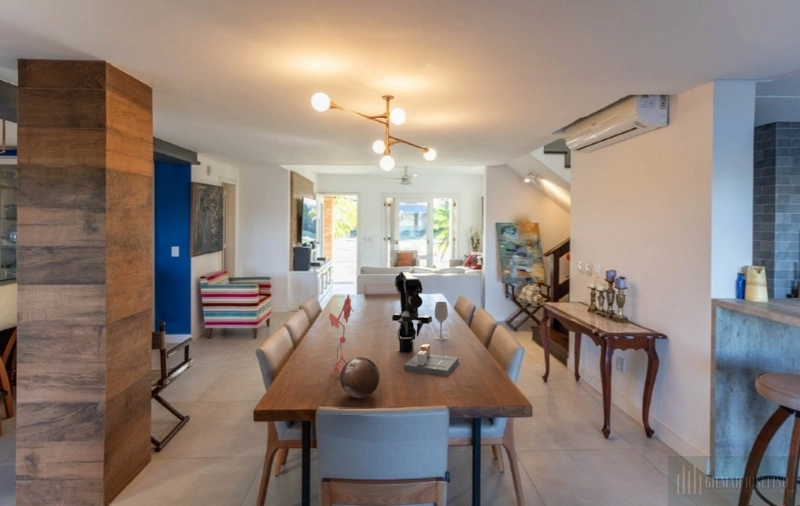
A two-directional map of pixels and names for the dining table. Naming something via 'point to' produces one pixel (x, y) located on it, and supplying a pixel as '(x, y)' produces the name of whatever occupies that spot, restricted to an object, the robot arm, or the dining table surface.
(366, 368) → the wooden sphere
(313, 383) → the dining table surface
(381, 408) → the dining table surface
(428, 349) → the orange fader
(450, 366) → the console board
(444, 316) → the wineglass
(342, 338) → the figurine
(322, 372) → the dining table surface
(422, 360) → the white fader
